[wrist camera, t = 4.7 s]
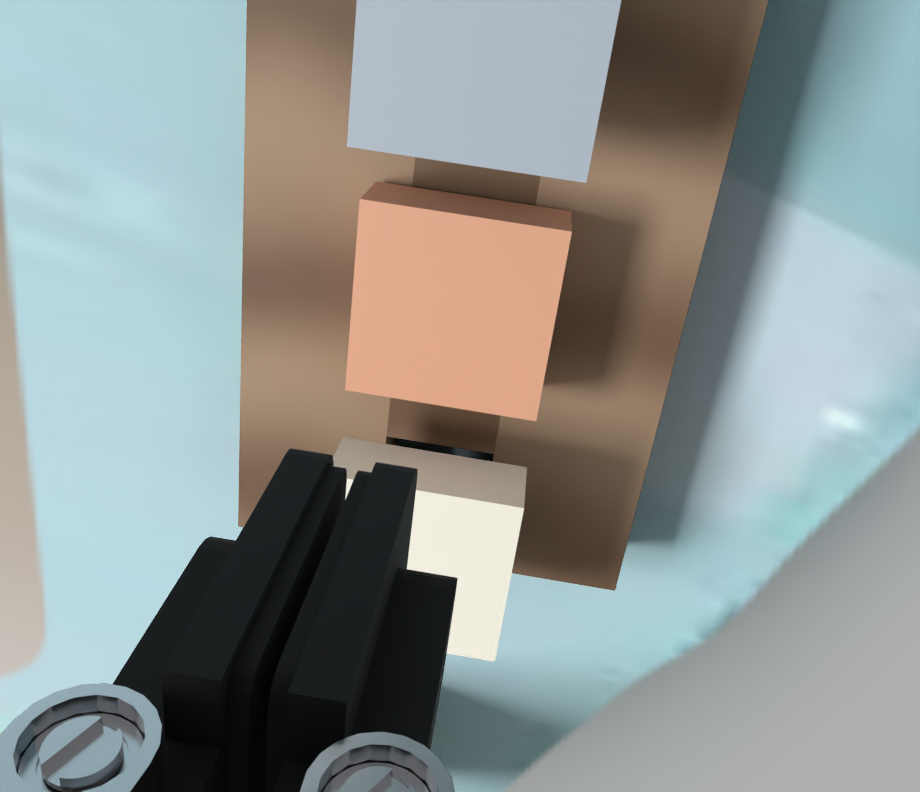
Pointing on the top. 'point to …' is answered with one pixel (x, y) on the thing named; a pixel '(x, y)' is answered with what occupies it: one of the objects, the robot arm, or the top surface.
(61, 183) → the top surface
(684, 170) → the walnut board
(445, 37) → the slate key
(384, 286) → the terracotta key
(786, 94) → the top surface
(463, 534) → the cream key
